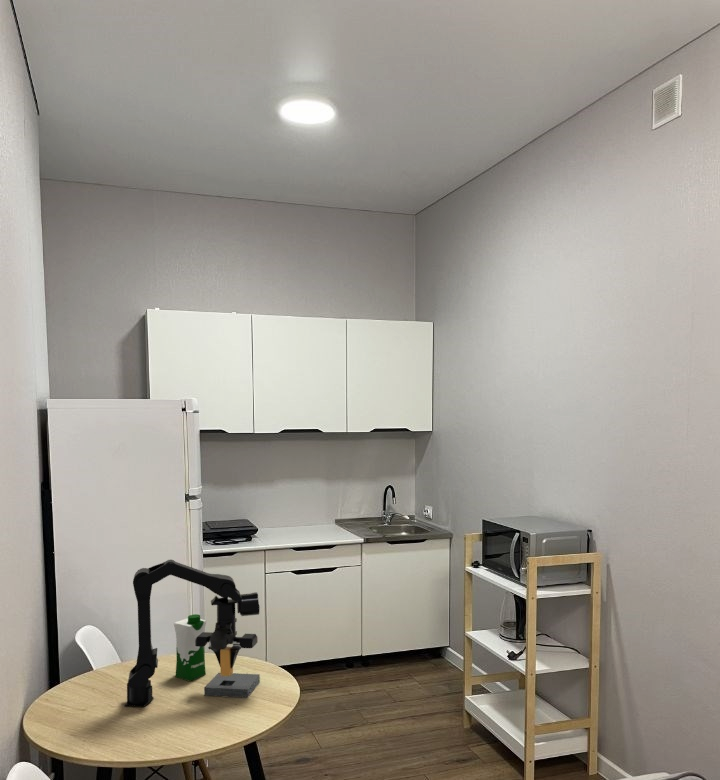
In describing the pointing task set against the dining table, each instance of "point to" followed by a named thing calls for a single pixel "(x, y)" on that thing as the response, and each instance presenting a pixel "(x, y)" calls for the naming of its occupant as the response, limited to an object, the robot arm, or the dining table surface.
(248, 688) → the gray slab with hole
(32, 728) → the dining table surface
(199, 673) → the milk carton
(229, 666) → the tan rectangular box
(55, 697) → the dining table surface
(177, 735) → the dining table surface
